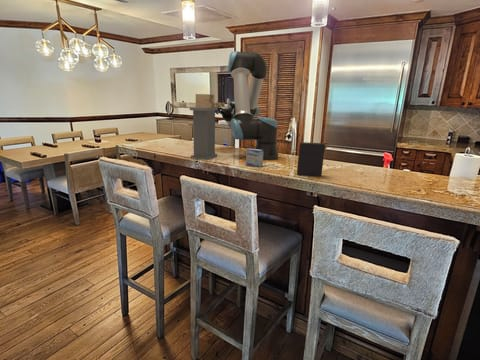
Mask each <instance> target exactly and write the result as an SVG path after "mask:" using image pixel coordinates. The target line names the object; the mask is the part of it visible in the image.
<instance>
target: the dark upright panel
mask: <svg viewBox="0 0 480 360" xmlns="http://www.w3.org/2000/svg"><path fill="white" fill-rule="evenodd" d="M325 149H326V144H325V143H322V142H303V141H301V142H299V145H298V157H297V167H296V168H297V170H296V174H297V175H298V176H303V177H307V176H308V177H322V175H323V166H324V157H325Z"/></svg>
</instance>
